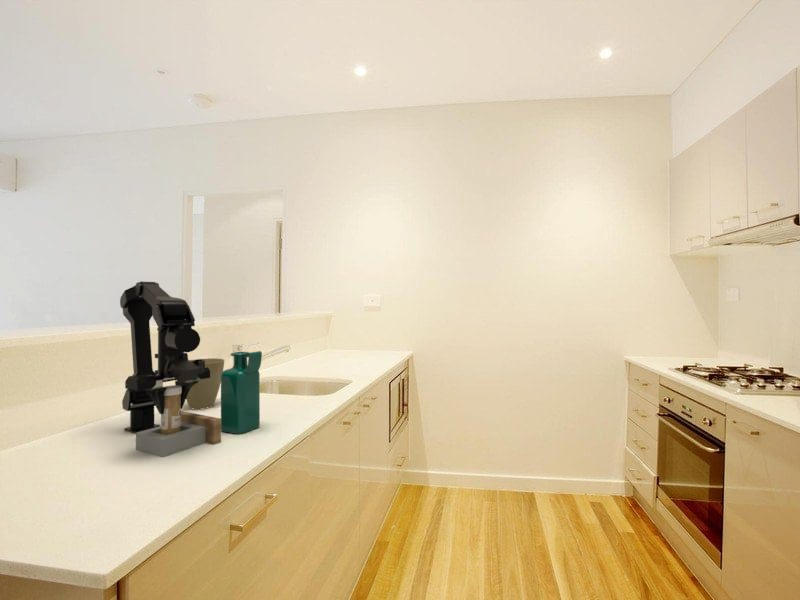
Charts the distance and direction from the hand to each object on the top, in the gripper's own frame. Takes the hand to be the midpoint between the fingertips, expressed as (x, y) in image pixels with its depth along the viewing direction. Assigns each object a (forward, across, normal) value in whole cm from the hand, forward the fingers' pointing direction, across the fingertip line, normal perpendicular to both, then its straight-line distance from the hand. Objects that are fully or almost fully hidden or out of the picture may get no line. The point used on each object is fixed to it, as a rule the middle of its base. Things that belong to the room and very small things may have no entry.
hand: (170, 411), depth 100 cm
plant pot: (+9, +28, +29) cm, 42 cm away
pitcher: (+9, +18, -5) cm, 20 cm away
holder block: (+8, 0, 0) cm, 8 cm away
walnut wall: (+8, +6, 0) cm, 11 cm away
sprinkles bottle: (+7, 0, 0) cm, 7 cm away
